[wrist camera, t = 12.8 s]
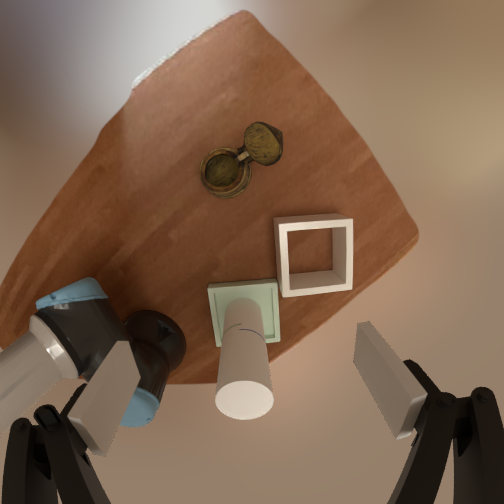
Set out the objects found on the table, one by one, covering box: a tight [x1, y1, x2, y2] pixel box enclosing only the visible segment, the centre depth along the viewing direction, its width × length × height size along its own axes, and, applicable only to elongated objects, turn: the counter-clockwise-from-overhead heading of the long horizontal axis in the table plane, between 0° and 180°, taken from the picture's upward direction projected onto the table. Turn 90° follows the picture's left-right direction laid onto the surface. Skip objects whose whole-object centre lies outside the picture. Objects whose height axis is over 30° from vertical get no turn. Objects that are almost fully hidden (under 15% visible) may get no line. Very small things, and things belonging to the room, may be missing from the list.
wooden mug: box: [200, 122, 283, 199], centre depth 41 cm, size 9×14×18 cm, turn 121°
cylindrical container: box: [215, 297, 274, 420], centre depth 43 cm, size 7×7×25 cm
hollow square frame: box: [273, 213, 353, 297], centre depth 50 cm, size 12×12×8 cm
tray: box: [207, 278, 280, 347], centre depth 55 cm, size 13×13×2 cm
